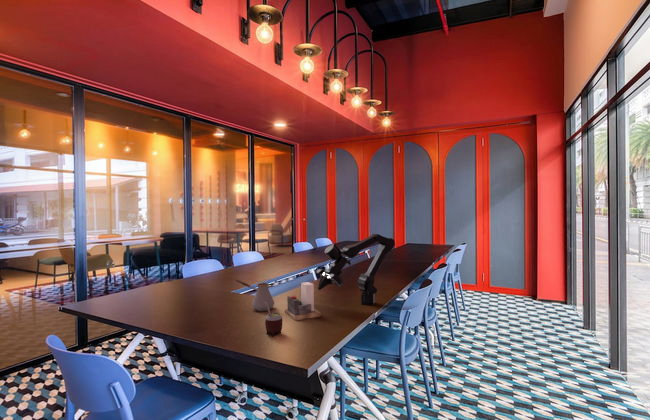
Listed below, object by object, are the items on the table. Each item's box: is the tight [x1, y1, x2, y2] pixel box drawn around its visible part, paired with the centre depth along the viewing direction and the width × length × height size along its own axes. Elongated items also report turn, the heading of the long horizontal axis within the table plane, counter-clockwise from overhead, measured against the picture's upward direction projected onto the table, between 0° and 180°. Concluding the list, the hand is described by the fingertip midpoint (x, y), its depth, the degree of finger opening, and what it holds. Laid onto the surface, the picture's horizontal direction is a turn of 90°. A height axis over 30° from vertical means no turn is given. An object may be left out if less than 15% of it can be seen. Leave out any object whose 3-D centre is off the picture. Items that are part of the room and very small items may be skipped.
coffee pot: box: [234, 279, 275, 312], centre depth 179 cm, size 21×12×15 cm, turn 80°
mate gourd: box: [263, 301, 283, 337], centre depth 142 cm, size 8×8×15 cm
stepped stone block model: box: [284, 295, 322, 321], centre depth 168 cm, size 14×14×10 cm
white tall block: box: [300, 281, 315, 311], centre depth 169 cm, size 4×6×13 cm, turn 27°
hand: (318, 289), depth 172 cm, fingers closed
